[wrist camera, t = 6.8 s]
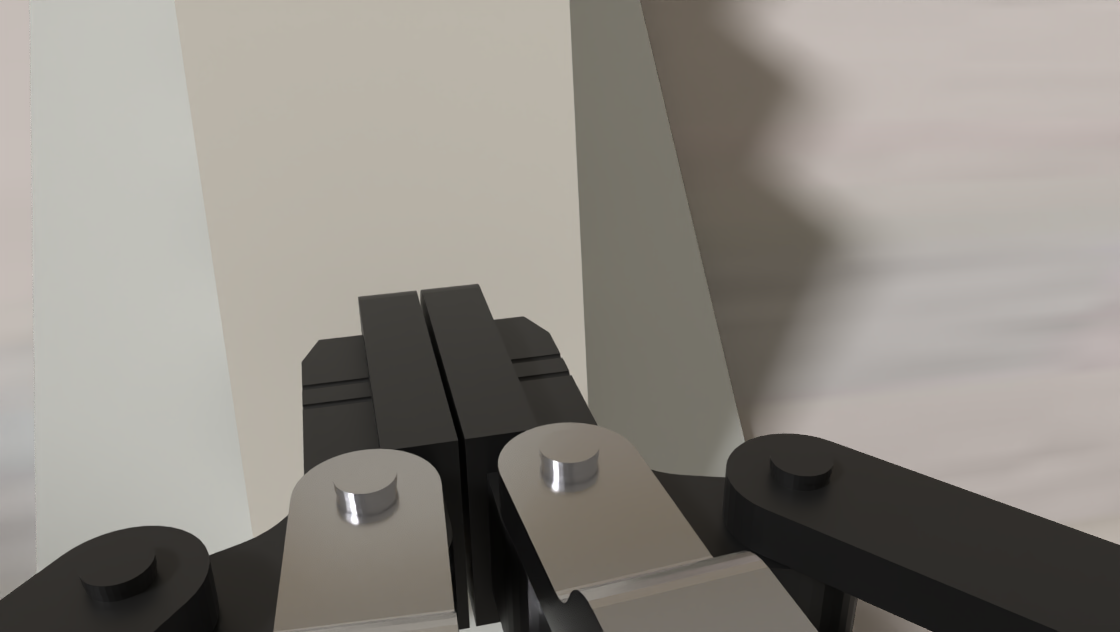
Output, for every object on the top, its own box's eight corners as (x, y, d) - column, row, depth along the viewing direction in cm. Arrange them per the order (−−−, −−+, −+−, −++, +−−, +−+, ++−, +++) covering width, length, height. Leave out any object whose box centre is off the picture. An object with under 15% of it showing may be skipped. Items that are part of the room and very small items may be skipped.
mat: (48, 840, 15) (39, 845, 14) (32, -242, 21) (26, -258, 21) (793, 686, 17) (802, 686, 17) (577, -238, 24) (580, -253, 23)
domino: (262, 598, 14) (151, -153, 12) (267, 536, 16) (174, -123, 14) (594, 544, 15) (561, -156, 13) (564, 491, 17) (530, -129, 15)
